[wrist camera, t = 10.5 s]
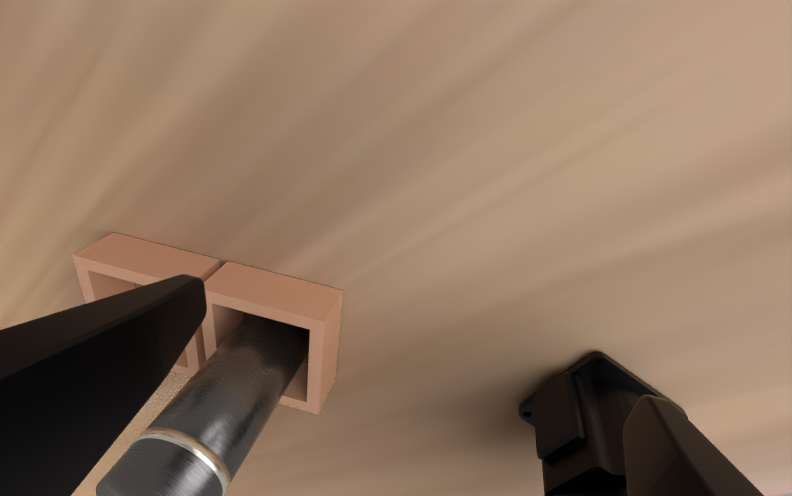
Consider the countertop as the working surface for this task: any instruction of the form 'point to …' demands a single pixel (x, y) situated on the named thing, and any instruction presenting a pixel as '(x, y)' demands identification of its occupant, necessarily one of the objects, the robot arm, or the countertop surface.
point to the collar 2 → (284, 303)
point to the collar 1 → (142, 278)
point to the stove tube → (213, 415)
